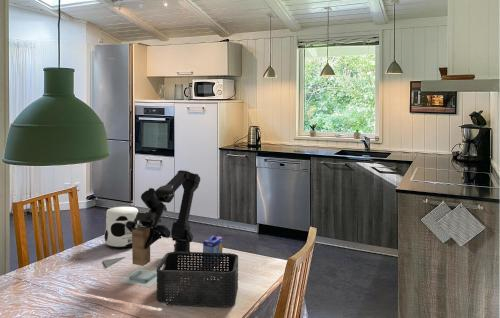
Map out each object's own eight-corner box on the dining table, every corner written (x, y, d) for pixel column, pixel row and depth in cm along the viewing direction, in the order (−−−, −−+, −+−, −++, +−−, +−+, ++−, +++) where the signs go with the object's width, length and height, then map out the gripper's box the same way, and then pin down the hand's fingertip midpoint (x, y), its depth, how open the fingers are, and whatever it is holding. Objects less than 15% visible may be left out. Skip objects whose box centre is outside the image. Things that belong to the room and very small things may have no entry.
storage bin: (154, 305, 145) (154, 268, 143) (167, 282, 164) (167, 250, 162) (234, 309, 143) (235, 272, 142) (238, 285, 163) (239, 253, 161)
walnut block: (139, 259, 169) (139, 227, 167) (150, 261, 167) (149, 228, 165) (132, 264, 164) (132, 230, 162) (143, 266, 163) (142, 232, 161)
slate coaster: (125, 258, 189) (125, 256, 189) (130, 265, 180) (130, 264, 180) (102, 261, 184) (102, 260, 184) (107, 269, 175) (107, 267, 175)
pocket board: (138, 270, 175) (138, 266, 174) (167, 275, 170) (167, 270, 170) (118, 283, 161) (118, 278, 161) (149, 288, 157) (149, 283, 157)
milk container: (113, 238, 217) (113, 205, 214) (145, 240, 215) (145, 206, 213) (98, 249, 199) (97, 213, 197) (132, 251, 198) (132, 215, 196)
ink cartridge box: (213, 270, 178) (213, 237, 176) (201, 267, 180) (202, 235, 178) (222, 262, 187) (223, 231, 185) (212, 260, 189) (212, 230, 187)
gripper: (127, 201, 170) (110, 235, 161) (166, 206, 163) (151, 241, 154) (139, 215, 178) (123, 248, 169) (176, 220, 172) (162, 254, 163)
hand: (139, 247), depth 164 cm, fingers closed on walnut block, 5 cm apart
